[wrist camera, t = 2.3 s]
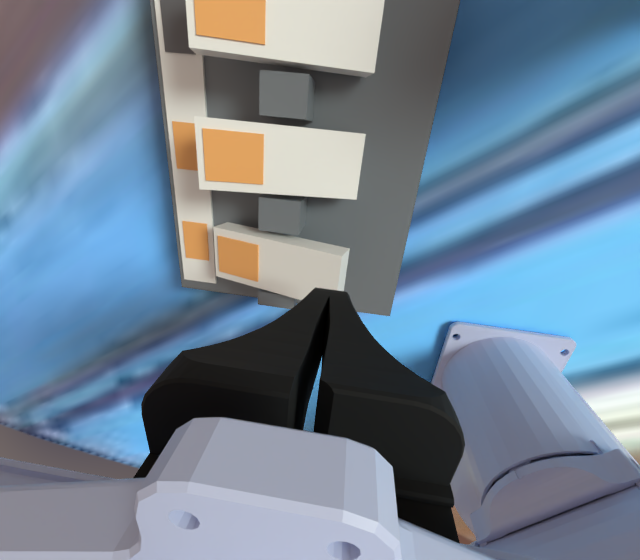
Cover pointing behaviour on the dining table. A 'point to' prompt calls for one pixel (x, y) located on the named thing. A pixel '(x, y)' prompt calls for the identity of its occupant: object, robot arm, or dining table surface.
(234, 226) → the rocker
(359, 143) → the rocker middle
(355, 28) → the rocker
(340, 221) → the switch unit
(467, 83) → the dining table surface
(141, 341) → the dining table surface
